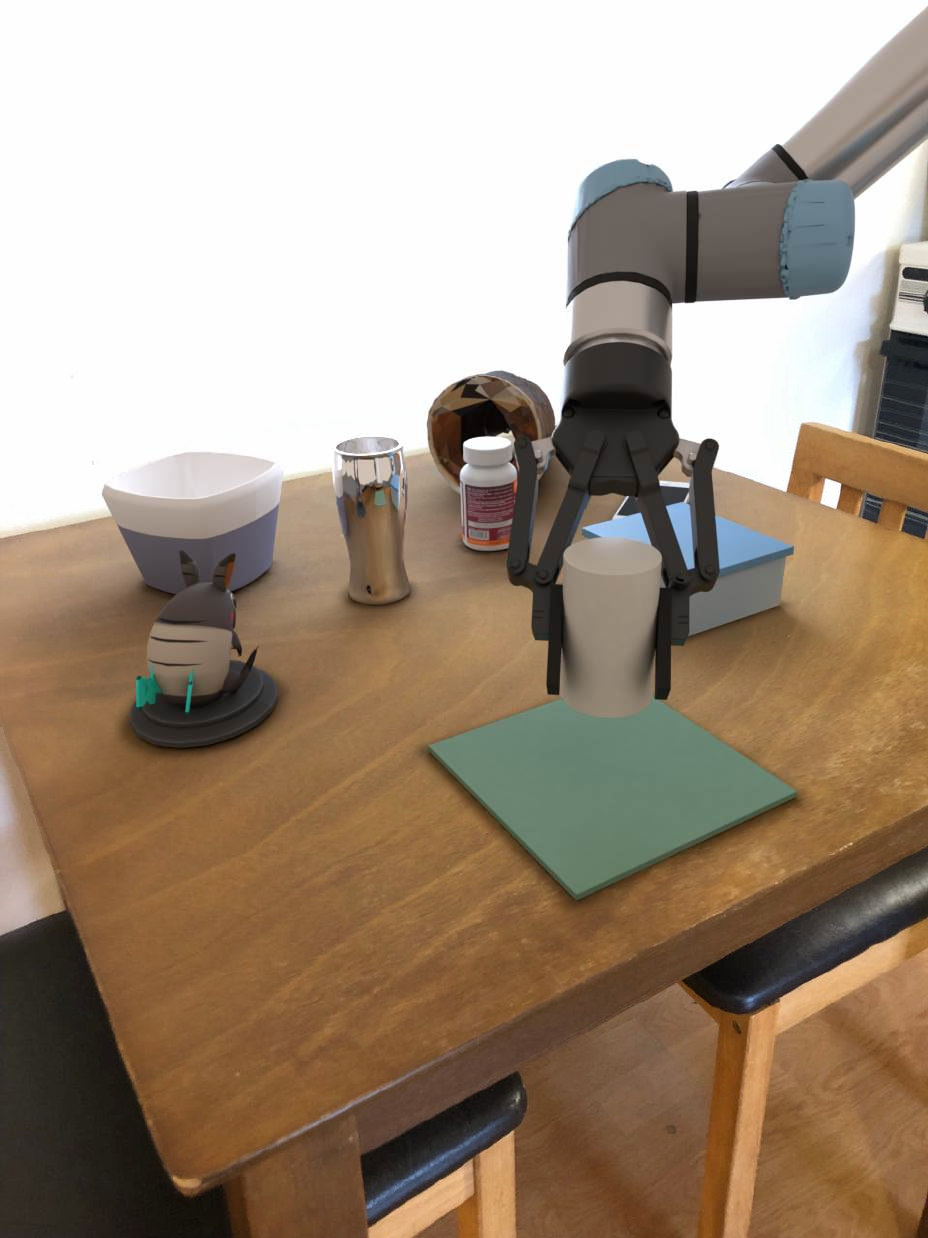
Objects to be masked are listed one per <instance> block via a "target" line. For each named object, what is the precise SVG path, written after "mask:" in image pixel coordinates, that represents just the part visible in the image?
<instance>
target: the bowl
mask: <svg viewBox="0 0 928 1238" xmlns="http://www.w3.org/2000/svg"><path fill="white" fill-rule="evenodd" d="M283 477H284V470H283V468H282V466H281V465H280V464H279V463H278V462H277V461H275V460H273V459H272V460H271V459H269V458H265V457H260V456H256V455H250V454H244V453H237V452H236V453H235V452H225V451H208V450H186V451H182V452H179V453H174V454H169V455H167V456H163V457H160V458H157V459H154V460H151V461H148V462H147V463H146V462H145V463H143V464H140V465H138V466H135V467H132V468H130V469H128V470H126V471H124V472H122V473H119V474H117V475H116V476H114V477H112V478H111V479H109V480H108V481H107V482H105V484H104V485H103V488H102V490H101V496H102V498H103V500H104V502H105V504H106V506H107V509H108V510H109V512H110V514H111V517H112V519H113V521H114V523H115V524H116V526H117V528H118V530H119V532H120V534H121V535H122V538H123V540H124V542H125V544H126V546H127V548H128V550H129V552H130V554H131V556H132V558H133V560H134V562H135V565H136V566H137V568H138V571H139V572H140V574H141V577H142V579H143V581H144V583H145V584H146V585H148V586H149V587H152V588H154V589H157V590H159V591H163V592H165V593H169V594H173V595H177V594H178V593H180V592H181V591H183V590H184V589H186V588H187V587H186V585H185V582H184V579H183V575H182V572H181V566H180V554H179V551H180V550H184V551H185V552H186V553H187V554H188V555H189V556H190V557H192V558H193V559H194V560H195V561H196V563H197V564H198V567H199V574H200V582H201V583H206V582H210V583H213V575H214V570H215V568H216V566H217V564H218V563H219V562H220V561H221V560H223V559H224V558H225V557H227V556H228V555H230V554H232V553H235V554H236V557H235V562H234V568H233V572H232V576H231V579H230V583H229V586H228V590H229V591H230V592H231V593H233V592H234V591H237V590H239V589H241V588H243V587H245V586H247V585H248V584H250V583H252V582H254V581H256V580H257V579H258V578H260V577H261V576H262V575H263V574H264V573H265V572H266V571H267V570H269V569H270V567H271V566H272V564H273V559H274V558H273V557H274V551H275V550H274V549H275V543H276V542H275V541H276V534H277V525H278V517H279V507H280V501H281V494H282V485H283Z"/></svg>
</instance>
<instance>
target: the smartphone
mask: <svg viewBox="0 0 928 1238" xmlns="http://www.w3.org/2000/svg"><path fill="white" fill-rule="evenodd" d="M659 482H660V489H661V493H662V496H663V499H664V502H665V505H666V506H669V505H673V504H677V503H680V502H683V503H686V504H688V505H689V503H690V501H689V485H690V482H682V481H669V480H659ZM638 513H641V512H640V511H639V510H638V507H637V504H636V501H635V498H634V496H625V498H624V500H623V501H622V503H621V505H620V506H619V507H618V509H617V510H616V512H615V513H614V515H613V516H612V518H611V520H614V519H618V518H622V517H626V516H630V515H634V514H638Z"/></svg>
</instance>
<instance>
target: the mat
mask: <svg viewBox="0 0 928 1238" xmlns="http://www.w3.org/2000/svg"><path fill="white" fill-rule="evenodd" d="M428 752H429V753H431V754H430V755H432V756H433V757H434V758H435V759H436V760H437V761H438V762H439V763H440V764H441V765H442V766H443V767H444V768H445V769H446V770H447V771H448V772H449V773H450V774H451V775H452V777H454V778H455V779H456V780H457V781H458V782H459V783H460V785H461V786H463V787H464V788H465V790H466V791H468V792H469V794H470V795H471V796H472V797H473V798H475V800H477V802H478V803H479V804H480V805H481V806H483V808H484V809H485V810H486V811H487V812H488V813H489V814H490V815H491V816H493V818H494V819H495V820H496V821H497V822H498V823H499V824H500V825H501V826H502V827H503V828H504V829H505V830H506V831H507V832H508V833H509V834H510V835H511V836H512V837H513V838H514V839H515V840H516V841H517V842H518V843H519V844H520V845H521V847H523V848H524V849H525V850H526V851H527V852H528V853H529V854H530V856H532V858H534V859H535V860H536V862H538V864H540V866H541V867H542V868H543V869H544V870H546V872H547V873H548V874H549V875H550V876H551V877H552V878H553V879H554V880H555V881H556V882H557V883H558V884H559V885H560V886H561V887H562V888H563V889H564V890H565V891H566V892H567V893H568V894H569V895H570V896H571V897H572V898H573V899H574V900H575V901H576V902H577V901H580V900H581V899H583V898H585V897H588V896H590V895H592V894H594V893H596V892H598V891H600V890H602V889H605V888H607V887H609V886H610V885H613V884H615V883H617V882H619V881H621V880H624V879H626V878H628V877H630V876H632V875H634V874H636V873H638V872H641V871H642V870H645V869H647V868H649V867H651V866H653V865H656V864H657V863H659V862H661V861H664V860H666V859H668V858H670V857H672V856H675V855H676V854H678V853H682V852H683V851H685V850H687V849H689V848H691V847H693V846H695V845H698V844H700V843H703V842H704V841H706V840H709V839H710V838H713V837H714V836H717V835H719V834H721V833H723V832H725V831H728V830H730V829H732V828H734V827H736V826H738V825H741V824H742V823H744V822H746V821H749V820H751V819H752V818H754V817H757V816H759V815H761V814H763V813H766V812H768V811H770V810H773V809H774V808H776V807H778V806H781V805H782V804H785V803H787V802H788V801H791V800H793V799H795V798H797V797H798V790H797V789H795V788H793V787H792V786H791V785H789V784H788V783H786V782H784V781H782V780H781V779H780V778H778V777H777V776H775V775H774V774H772V772H771V773H770V772H769V771H768V770H766V769H764V768H763V767H761V766H760V765H759V764H757V763H755V762H754V761H752V759H751V760H750V759H749V758H747V756H744V755H743V754H742V753H741V752H739V751H738V750H736V749H734V748H733V747H731V746H729V745H728V744H727V743H726V742H723V741H722V740H721V739H719V738H717V737H716V736H715V735H713V734H712V733H710V732H709V731H708V730H706V729H704V728H703V727H701V726H699V725H698V724H697V723H695V722H693V721H691V720H690V719H689V718H687V717H686V716H684V715H683V714H681V713H680V712H678V711H676V710H675V709H673V708H672V707H671V706H668V704H666V703H664V702H663V701H662V700H655V695H652V699H651V702H650V704H649V705H648V706H647V707H646V708H645V709H644V710H642V711H641V712H639V713H637V714H634V715H631V716H627V717H621V718H599V717H593V716H589V715H585V714H582V713H580V712H577V711H575V710H574V709H572V708H570V707H569V706H568V705H567V704H566V703H565V702H564V701H563V699H562V698H560V699H557V700H554V701H550V702H549V703H545V704H543V705H539V706H537V707H534V708H531V709H528V710H525V711H522V712H520V713H517V714H513V715H511V716H509V717H505V718H503V719H500V720H497V721H495V722H491V723H488V724H485V725H483V726H480V727H477V728H475V729H471V730H469V731H468V730H467V731H466V732H463V733H460V734H457V735H455V736H452V737H448V738H446V739H444V740H440V741H436V742H435V743H432V744H429V745H428Z"/></svg>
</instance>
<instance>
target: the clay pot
mask: <svg viewBox="0 0 928 1238" xmlns="http://www.w3.org/2000/svg"><path fill="white" fill-rule="evenodd" d="M427 413H428V414H427V420H426V431H427V432H426V433H427V445H428V449H429V452H430V455H431V457H432V459H433V462H434V465H435V466H436V468H437V470H438V472H439V473H440V474H441V476H442V477H443V478H444V480H445V481H447V483H448V484H449V486H450V488H451V489H453V491H454V492H456V493H458V494H459V495H461V490H460V472H461V470H462V468H463V467H464V466H465V465H466V464H468V463H466V462H465V461H464V459H463V454H464V452H463V444H464V442H465V441H467V440H469V439H473V438H478V437H498V436H499V435H502V434H507V435H509V433H511V434H512V436H513V438H514V441H515V440H516V439H517V438H518V437H521V436H525V437H528V438H529V439H530V440H531V442H532V441H536V440H540V439H544V438H548V437H552V433H553V431H554V430H555V428H556V417H555V411H554V409H553V405H552V403H551V401H550V399H549V397H548V395H547V393H545V391H544V390H543V389H542V388H541V386H539V385H538V384H537V383H535V382H534V381H531V380H529V379H527V378H524V377H521V376H518V375H516V374H514V373H512V372H509V371H506V370H493V371H489V372H486V373H477V374H473V375H469V376H466V377H464V378H462V379H459V380H458V381H455V382H454V383H451V384H450V385H448V386H447V387H446V388H444V389H443V390H442V391H441V393H439V394H438V396H437V397H435V399H434V400H433V402H432V403H431V406H430V408H429V410H428V412H427ZM509 463H511V464H512V465H513V466H514V467H515V469H516V471H517V482H518V475H519V473H518V469H517V465H516V459H515V458H514V460H511V461H509ZM544 473H545V472H543V473H542V474H538V481H539V480H540V479H541V478H542V476H543V474H544Z"/></svg>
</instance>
